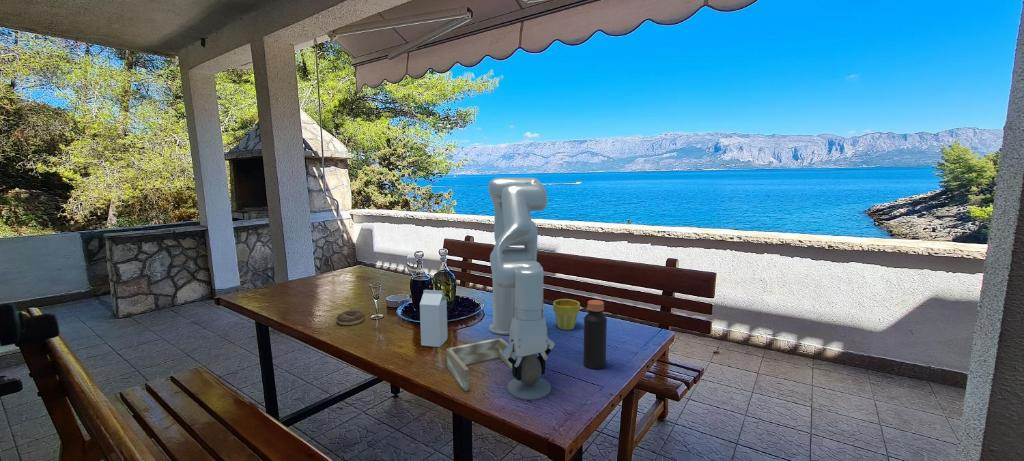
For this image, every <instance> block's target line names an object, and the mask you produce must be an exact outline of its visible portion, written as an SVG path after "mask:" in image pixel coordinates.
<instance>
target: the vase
mask: <svg viewBox="0 0 1024 461" xmlns="http://www.w3.org/2000/svg"><path fill="white" fill-rule="evenodd" d="M537 357H538V356H537V355H536V354H533V355H528V356H524V357H522V359H521V361H520V364H519V366H520V367H521V380H520V381H521V382H522V383H523V384H525V385H534V384H535V383H537V382H538V380H539V379H540V377H541V376H542V374H541V372H542V367H541V363H540V361H539V359H538V358H537ZM541 378H542V377H541Z"/></svg>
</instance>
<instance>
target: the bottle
mask: <svg viewBox="0 0 1024 461" xmlns="http://www.w3.org/2000/svg"><path fill="white" fill-rule="evenodd" d="M586 308H587V312H588V313H587V314H585V316H584V318H583V354H582V355H583V357H582V358H583V365H584V366H585V367H586V368H588V369H592V370H601V369H603V368H605V367H606V363H607V330H608V329H607V328H608V327H607V325H608V324H607V323H608V321H607V320H608V319H607V317H606V316H605V314H604V311H605V302H604V301H603V300H600V299H591V300H588V301H587V307H586Z"/></svg>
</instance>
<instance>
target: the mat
mask: <svg viewBox="0 0 1024 461" xmlns="http://www.w3.org/2000/svg"><path fill="white" fill-rule="evenodd" d="M506 389H507V392H508V393H509V394H510V395H511V396H512V397H514V398H517V399H520V400H524V401H525V400H526V401H533V400H534V401H535V400H540V399H542V398H543V399H544V398H545V397H547V396H548V395H549V394H550V393H551V391H552V386H551V383H550V381H548V380H547V379H545V378H543V377H540V379H539V380H538V382H537V383H535V384H534V385H525V384H523V383H522V382H521V381H518V380H517V379H516V378H515V377H513V378H512V379H511V380H510V381H508V383H507V388H506Z"/></svg>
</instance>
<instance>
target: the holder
mask: <svg viewBox="0 0 1024 461" xmlns="http://www.w3.org/2000/svg"><path fill="white" fill-rule="evenodd" d="M508 345H509V342H507V341H506V340H504V338H501V337H498V338H493V339H488V340H483V341H476V342H472V343H467V344H461V345H457V346H453V347H447V348H445V353H446V369H447V370H448V371H449V372H450V373H451V375H452V376H453V377H454V379H455V380H456V382H457V383H458V384H459V385H460V386H461V388H462V389H463V390H464V391H465V392H467V391H470V369H469V368H468V367H467V365H470V364H476V363H480V362H483V361H484V362H485V361H489V360H493V359H498V358H499V359H500V360H501V361H502V362H503V363H505V364H506V366H508V367H509V368H510V369H511V370H512V364H511V363H510V362H509V361H508V360H507V359H506V358H505V357H504V356H503V355H502V352H503V351H504V350H505V349H506V348H507V346H508ZM513 353H514V352H511V353H510V354H509V355H510V356H511V357H512V356H513Z"/></svg>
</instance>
